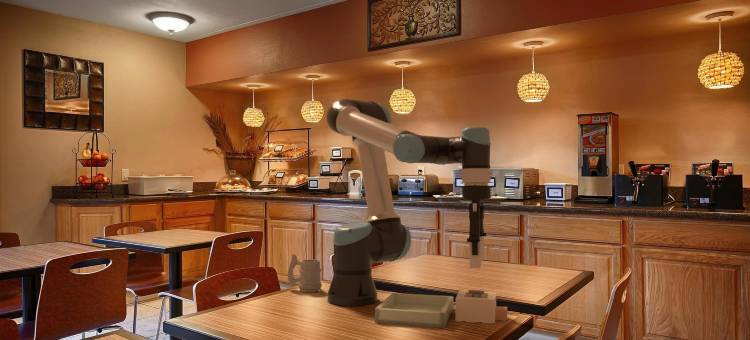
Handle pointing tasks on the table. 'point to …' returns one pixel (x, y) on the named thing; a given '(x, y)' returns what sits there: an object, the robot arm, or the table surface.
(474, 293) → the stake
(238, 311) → the table surface
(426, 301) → the tray
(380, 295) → the table surface
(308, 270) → the mug
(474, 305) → the beige recessed block
